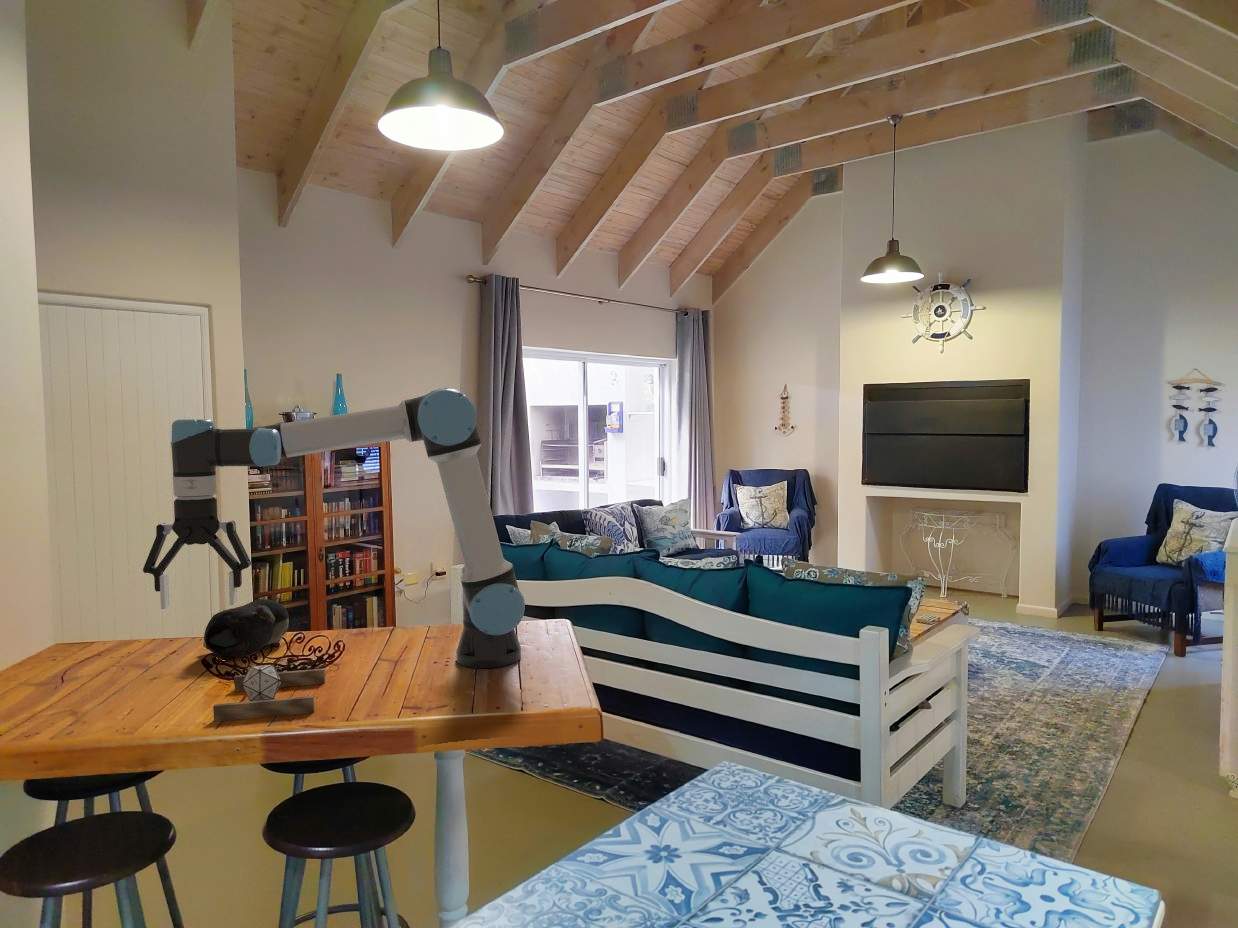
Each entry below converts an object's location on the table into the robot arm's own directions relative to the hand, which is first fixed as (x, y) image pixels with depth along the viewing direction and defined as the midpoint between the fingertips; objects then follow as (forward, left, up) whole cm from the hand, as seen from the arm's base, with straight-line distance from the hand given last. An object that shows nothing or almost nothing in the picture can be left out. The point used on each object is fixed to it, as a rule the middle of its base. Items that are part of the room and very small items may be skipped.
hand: (199, 605), depth 158 cm
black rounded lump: (-1, -37, -21) cm, 42 cm away
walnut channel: (-13, 0, -21) cm, 24 cm away
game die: (-11, 0, -21) cm, 24 cm away
